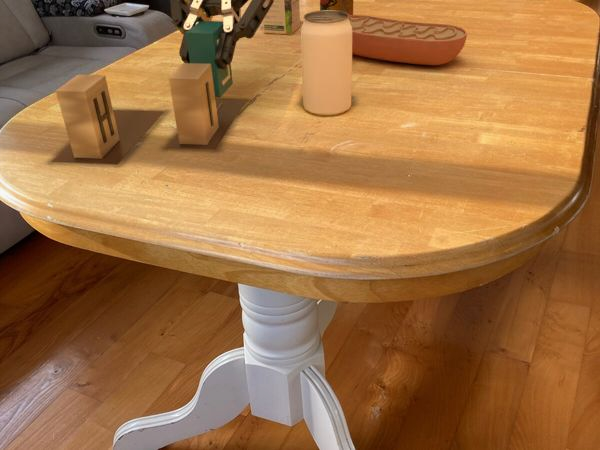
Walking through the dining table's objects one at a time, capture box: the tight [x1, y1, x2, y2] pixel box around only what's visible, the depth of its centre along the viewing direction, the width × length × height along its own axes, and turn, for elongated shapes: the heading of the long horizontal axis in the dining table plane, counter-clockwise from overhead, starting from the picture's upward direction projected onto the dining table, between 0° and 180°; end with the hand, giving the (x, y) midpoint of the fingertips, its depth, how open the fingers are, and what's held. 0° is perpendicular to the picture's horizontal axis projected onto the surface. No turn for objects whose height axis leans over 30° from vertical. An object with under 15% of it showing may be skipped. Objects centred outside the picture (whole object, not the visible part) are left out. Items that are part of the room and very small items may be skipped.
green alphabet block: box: [186, 20, 234, 99], centre depth 73 cm, size 4×5×8 cm
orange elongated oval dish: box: [348, 14, 468, 67], centre depth 93 cm, size 23×10×5 cm, turn 59°
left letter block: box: [51, 74, 165, 166], centre depth 69 cm, size 8×15×9 cm, turn 171°
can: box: [300, 10, 353, 117], centre depth 75 cm, size 6×6×12 cm
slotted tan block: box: [166, 62, 247, 151], centre depth 71 cm, size 6×15×9 cm, turn 171°
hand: (203, 64), depth 71 cm, fingers closed on green alphabet block, 4 cm apart
